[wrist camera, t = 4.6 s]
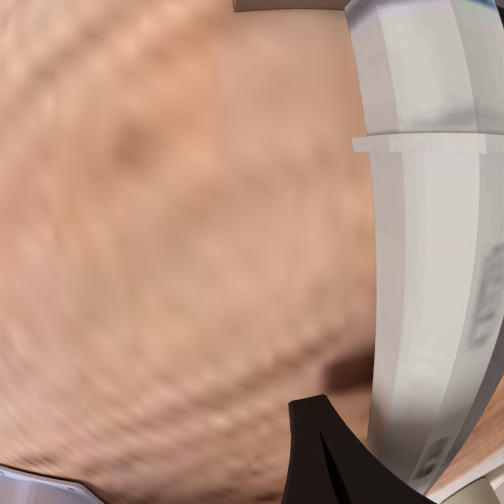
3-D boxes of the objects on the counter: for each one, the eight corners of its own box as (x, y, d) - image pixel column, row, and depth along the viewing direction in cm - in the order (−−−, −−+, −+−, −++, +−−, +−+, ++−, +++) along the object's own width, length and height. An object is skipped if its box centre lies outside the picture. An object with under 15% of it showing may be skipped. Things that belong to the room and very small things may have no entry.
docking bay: (293, 518, 19) (299, 548, 16) (228, -26, 6) (235, -85, 3) (393, 491, 19) (403, 518, 16) (480, 6, 6) (541, -4, 3)
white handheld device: (544, 12, 3) (419, 554, 10) (415, 57, 10) (387, 484, 17) (358, -59, 3) (336, 582, 10) (284, 52, 9) (315, 505, 16)
